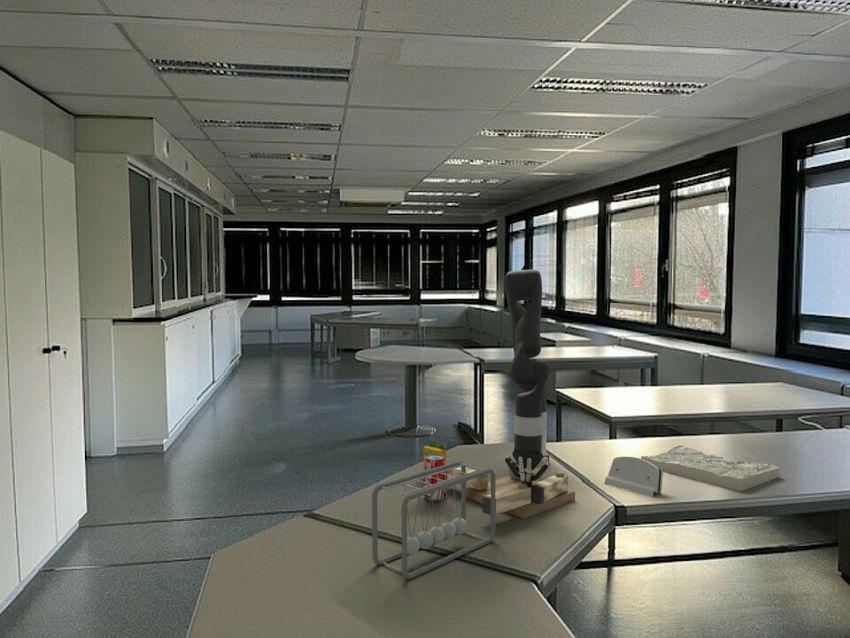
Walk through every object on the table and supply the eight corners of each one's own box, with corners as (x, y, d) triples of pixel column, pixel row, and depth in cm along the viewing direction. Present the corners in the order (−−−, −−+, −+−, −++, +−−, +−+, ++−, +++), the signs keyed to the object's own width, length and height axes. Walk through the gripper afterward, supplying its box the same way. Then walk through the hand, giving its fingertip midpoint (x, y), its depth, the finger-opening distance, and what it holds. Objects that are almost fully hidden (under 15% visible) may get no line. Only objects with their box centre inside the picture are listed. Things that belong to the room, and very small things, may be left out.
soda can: (434, 493, 184) (434, 452, 184) (450, 498, 180) (450, 456, 179) (419, 498, 180) (419, 456, 179) (435, 503, 175) (435, 461, 175)
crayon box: (423, 477, 200) (422, 441, 199) (429, 475, 202) (429, 439, 201) (440, 482, 195) (440, 445, 194) (446, 479, 197) (446, 443, 196)
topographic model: (740, 492, 185) (741, 476, 185) (640, 466, 213) (641, 451, 212) (779, 478, 199) (779, 462, 198) (680, 455, 226) (680, 441, 226)
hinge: (603, 483, 193) (610, 450, 195) (611, 485, 196) (618, 453, 198) (652, 497, 180) (659, 462, 182) (661, 499, 183) (667, 465, 185)
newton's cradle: (404, 582, 128) (404, 497, 128) (371, 567, 136) (370, 486, 135) (496, 540, 150) (496, 467, 149) (463, 528, 157) (463, 458, 156)
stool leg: (556, 487, 180) (556, 470, 180) (568, 490, 178) (568, 473, 178) (529, 500, 169) (529, 482, 169) (542, 503, 167) (542, 485, 167)
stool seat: (415, 495, 182) (415, 469, 181) (516, 467, 210) (516, 445, 209) (496, 528, 157) (496, 498, 157) (598, 491, 185) (599, 466, 185)
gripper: (500, 431, 172) (499, 493, 173) (546, 437, 165) (545, 502, 166) (510, 425, 178) (509, 485, 179) (556, 432, 171) (554, 494, 172)
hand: (526, 493), depth 173 cm, fingers closed
